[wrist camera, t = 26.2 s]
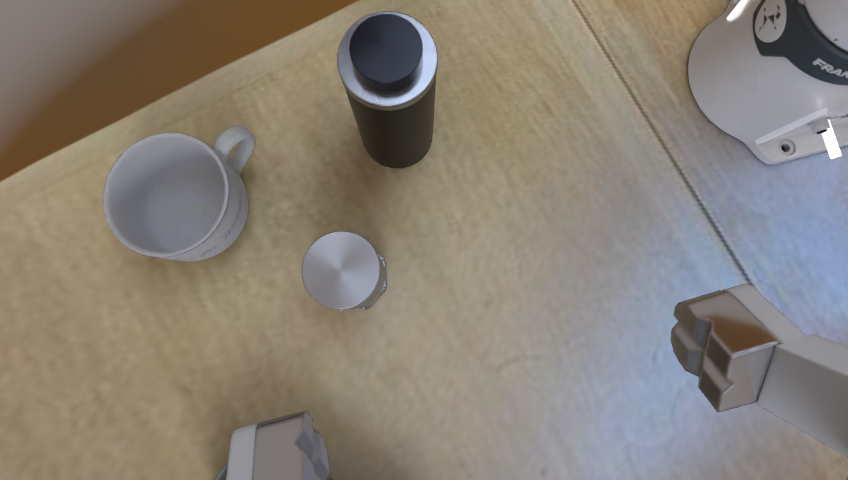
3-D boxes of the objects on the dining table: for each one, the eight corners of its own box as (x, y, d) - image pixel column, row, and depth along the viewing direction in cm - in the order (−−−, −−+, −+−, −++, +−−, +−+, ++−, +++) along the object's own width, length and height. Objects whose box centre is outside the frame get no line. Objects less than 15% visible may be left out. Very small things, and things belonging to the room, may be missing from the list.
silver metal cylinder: (384, 241, 51) (378, 228, 44) (388, 308, 51) (382, 306, 43) (319, 245, 51) (300, 233, 43) (321, 312, 50) (302, 311, 43)
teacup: (184, 288, 51) (140, 282, 43) (127, 196, 52) (74, 175, 44) (306, 207, 52) (286, 188, 44) (248, 120, 53) (218, 86, 45)
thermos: (430, 99, 54) (434, -4, 36) (435, 166, 53) (441, 94, 35) (360, 103, 53) (331, 2, 36) (363, 171, 52) (335, 100, 35)
